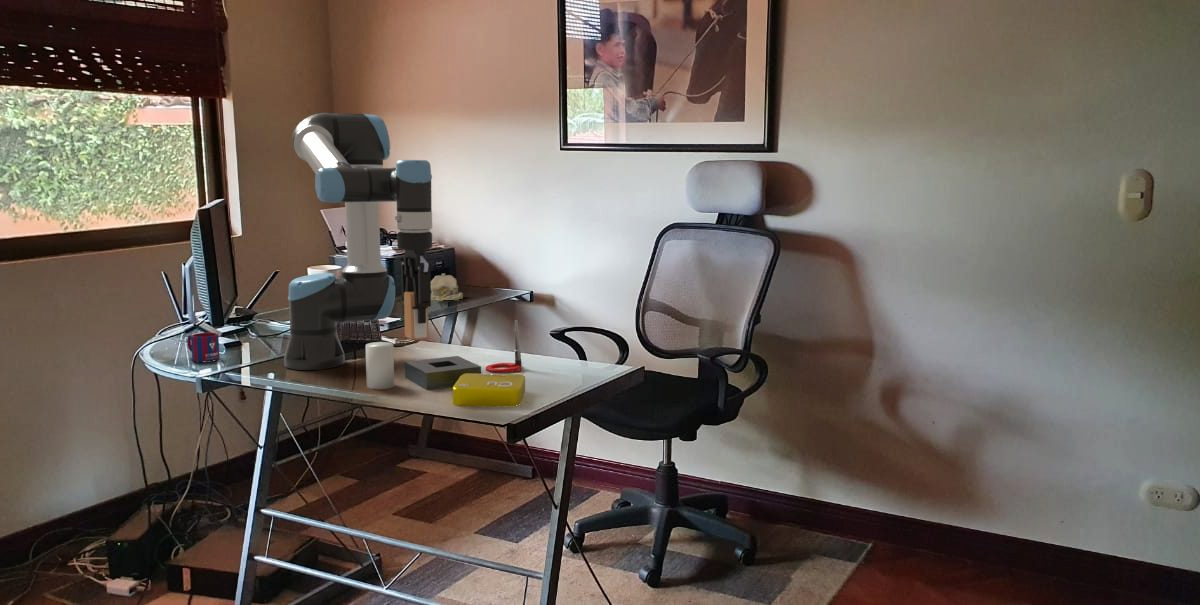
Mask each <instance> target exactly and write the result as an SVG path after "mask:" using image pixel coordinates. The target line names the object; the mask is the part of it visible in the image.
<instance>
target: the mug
mask: <svg viewBox="0 0 1200 605" xmlns="http://www.w3.org/2000/svg"><path fill="white" fill-rule="evenodd" d="M219 340H220V338H219V333H217V332H209V331H207V332H197V333H193V334H189V335H188V336H187V341H186V342H187V347H188V350H189V351H190V352H191V359H192V360H193V361H199V362H198V363H204V362H203V361H213V360H217V361H219V360H220V359H219V358H221V357H220V356H221V355H220V341H219ZM218 359H219V360H218ZM192 360H191V361H192ZM193 361H192V362H193ZM213 362H214V361H213Z"/></svg>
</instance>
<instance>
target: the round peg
mask: <svg viewBox="0 0 1200 605" xmlns="http://www.w3.org/2000/svg"><path fill="white" fill-rule="evenodd" d="M394 355H395V354H394V343H392V342H387V341H376V342H369V343H366V344H365V371H366V372H365V373H366V374H365V375H366V376H365V377H366V388H367V389H371V390H386V389H387V390H388V389H391V388H393V387H395V361H394V360H395V356H394Z"/></svg>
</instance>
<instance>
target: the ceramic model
mask: <svg viewBox="0 0 1200 605" xmlns="http://www.w3.org/2000/svg"><path fill="white" fill-rule="evenodd" d="M459 288H460V287H459V285H458V281H457V278H455V277H454V276H453V275H451V274H448V275H446V273H441V275H435V276H434V278H432V279H431V300H437V301H436V302H444V301H443V300H454V301H460V300H459V299H462V300H463V297H464V294H463V292H462V291H459Z"/></svg>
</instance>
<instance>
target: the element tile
mask: <svg viewBox="0 0 1200 605" xmlns="http://www.w3.org/2000/svg"><path fill="white" fill-rule="evenodd" d="M451 388H452V405H453V406H455V407H493V408H494V407H496V406H501V407H500V408H503V407H502V406H515V407H517V406H516V405H519V404H520V403H521V404H522V402H523V399H524V396H525V394H526V376H525V375H524V374H521V373H520V374H519V373H491V372H490V373H481V374H477V373H465V374H463V375H461V376H460V378H459V379H458V381H457V382H456V383H455V385H454V386H452V387H451ZM521 401H522V402H521ZM521 404H520V405H521ZM520 405H519V406H520Z"/></svg>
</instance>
